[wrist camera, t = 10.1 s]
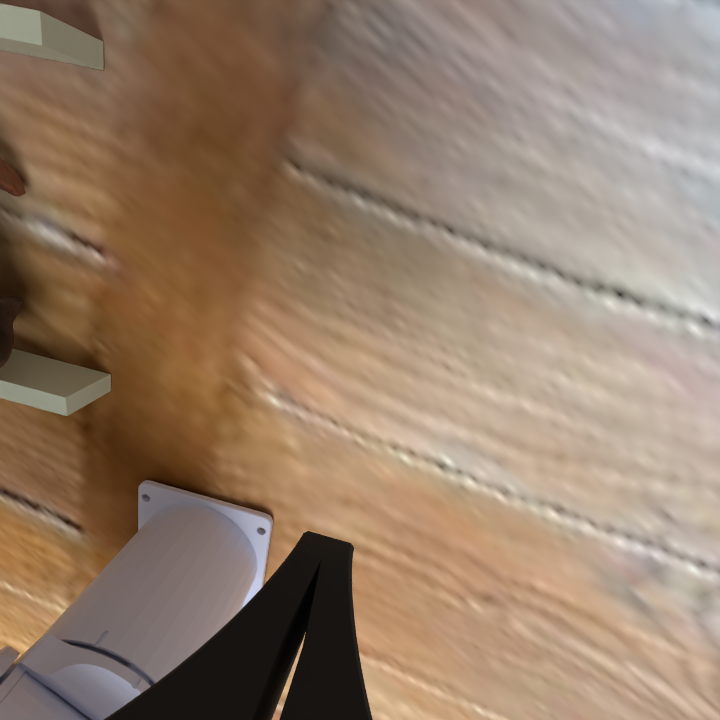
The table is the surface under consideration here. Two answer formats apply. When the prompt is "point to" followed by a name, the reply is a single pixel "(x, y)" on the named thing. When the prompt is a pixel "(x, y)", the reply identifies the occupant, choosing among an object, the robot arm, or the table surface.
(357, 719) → the robot arm
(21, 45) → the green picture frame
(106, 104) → the table surface
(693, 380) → the table surface
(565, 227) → the table surface
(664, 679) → the table surface
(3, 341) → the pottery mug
